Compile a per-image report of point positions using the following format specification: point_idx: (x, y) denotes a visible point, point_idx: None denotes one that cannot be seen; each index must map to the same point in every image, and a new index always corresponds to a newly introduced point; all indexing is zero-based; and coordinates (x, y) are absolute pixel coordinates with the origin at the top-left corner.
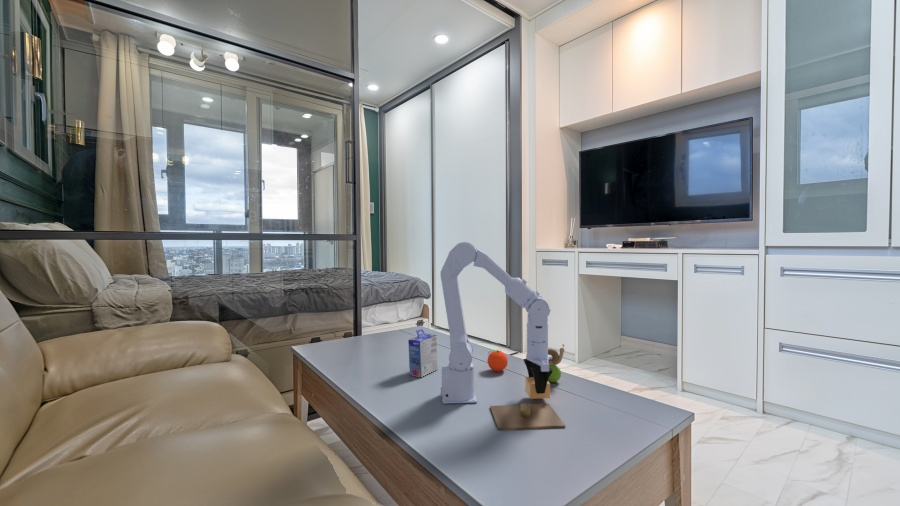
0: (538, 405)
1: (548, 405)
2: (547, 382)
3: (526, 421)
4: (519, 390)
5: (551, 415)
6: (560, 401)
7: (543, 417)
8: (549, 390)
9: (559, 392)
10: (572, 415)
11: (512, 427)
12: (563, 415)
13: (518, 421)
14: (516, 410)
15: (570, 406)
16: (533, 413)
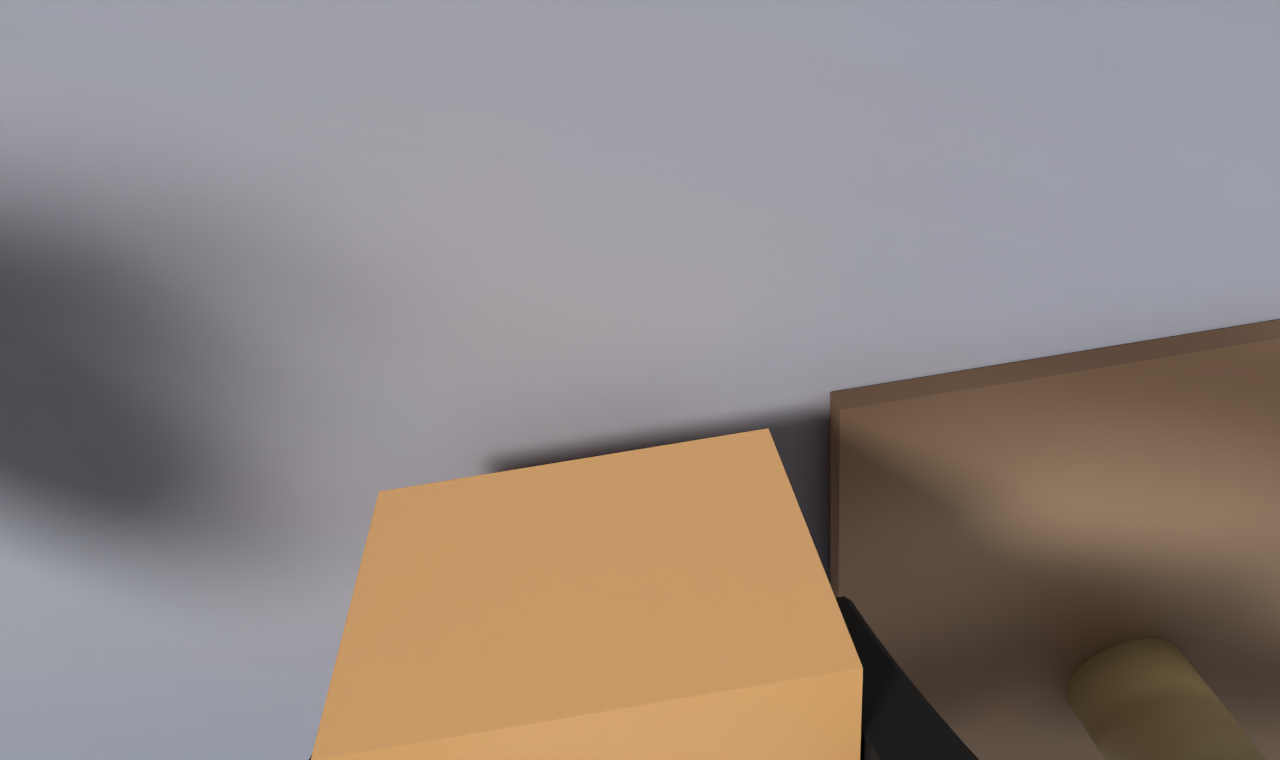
0: (881, 549)
1: (903, 426)
2: (785, 710)
3: (1273, 670)
4: (259, 713)
5: (1244, 424)
6: (638, 169)
7: (1255, 518)
8: (808, 541)
9: (101, 94)
10: (1271, 64)
11: None
12: (1215, 226)
13: (1243, 727)
14: (986, 747)
15: (891, 4)
16: (1111, 610)
